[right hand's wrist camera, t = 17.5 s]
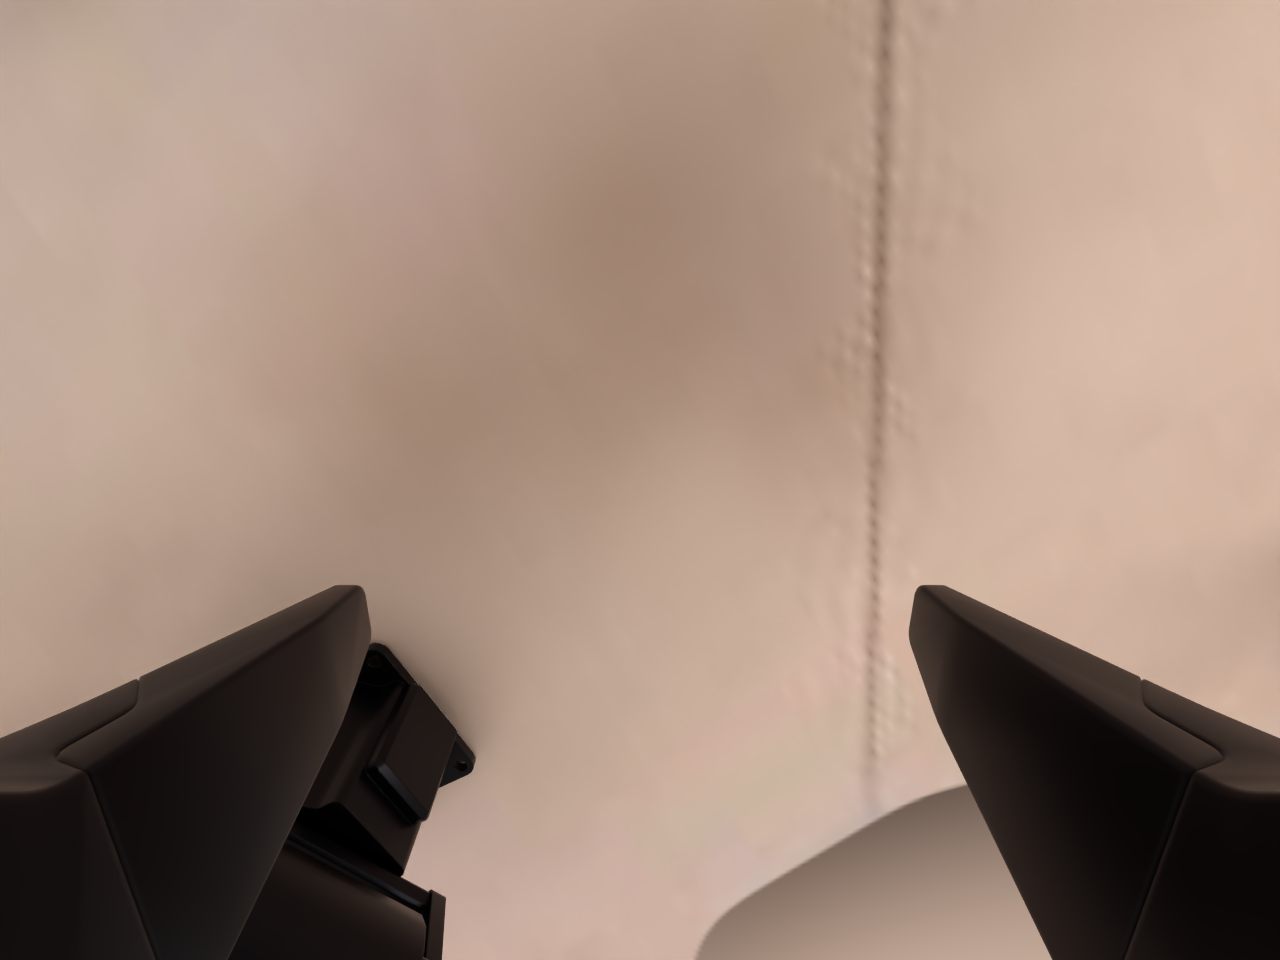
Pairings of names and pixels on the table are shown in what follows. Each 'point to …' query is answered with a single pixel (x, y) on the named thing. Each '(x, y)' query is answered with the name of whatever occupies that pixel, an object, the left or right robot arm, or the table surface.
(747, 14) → the table surface
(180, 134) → the table surface
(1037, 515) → the table surface
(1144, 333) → the table surface
